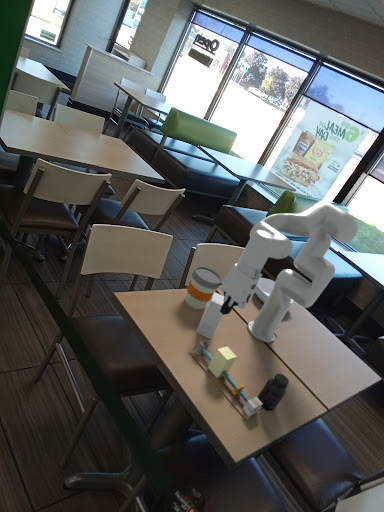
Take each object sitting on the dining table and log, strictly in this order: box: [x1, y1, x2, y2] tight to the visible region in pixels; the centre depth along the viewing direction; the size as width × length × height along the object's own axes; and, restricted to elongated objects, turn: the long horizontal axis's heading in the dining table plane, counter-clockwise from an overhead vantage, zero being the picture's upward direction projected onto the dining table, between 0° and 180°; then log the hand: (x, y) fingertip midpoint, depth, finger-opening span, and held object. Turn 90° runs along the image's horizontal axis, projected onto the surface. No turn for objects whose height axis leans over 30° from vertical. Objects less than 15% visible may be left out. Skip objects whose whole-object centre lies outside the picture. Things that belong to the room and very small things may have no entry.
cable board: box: [188, 340, 262, 421], centre depth 131 cm, size 8×30×5 cm, turn 40°
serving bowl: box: [254, 277, 295, 306], centre depth 196 cm, size 21×21×7 cm
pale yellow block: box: [208, 346, 238, 378], centre depth 132 cm, size 5×5×8 cm
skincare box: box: [196, 292, 224, 340], centre depth 149 cm, size 8×7×16 cm
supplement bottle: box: [256, 372, 290, 412], centre depth 128 cm, size 7×7×12 cm
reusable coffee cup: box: [184, 265, 223, 310], centre depth 164 cm, size 13×13×15 cm
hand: (224, 312), depth 128 cm, fingers closed
